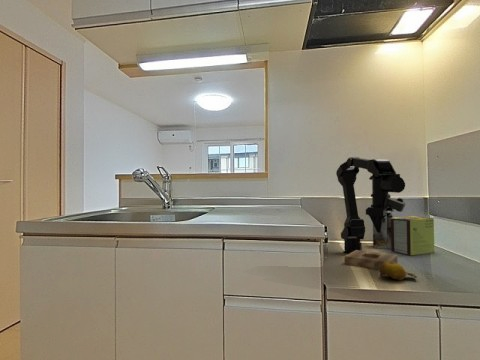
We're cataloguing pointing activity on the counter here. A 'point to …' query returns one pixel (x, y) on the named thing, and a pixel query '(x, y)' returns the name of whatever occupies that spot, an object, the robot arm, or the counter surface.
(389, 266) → the fruit
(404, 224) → the protein box
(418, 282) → the counter surface
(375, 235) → the grey and teal cylinder
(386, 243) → the coffee box
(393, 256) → the dock
